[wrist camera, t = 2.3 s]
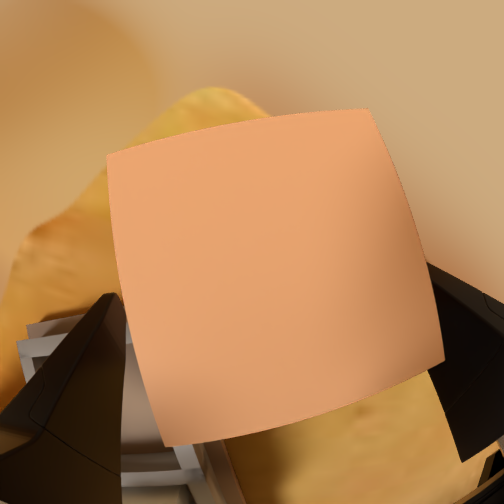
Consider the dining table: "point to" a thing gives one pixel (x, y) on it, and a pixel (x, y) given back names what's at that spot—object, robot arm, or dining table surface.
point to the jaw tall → (269, 272)
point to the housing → (145, 429)
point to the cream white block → (157, 495)
